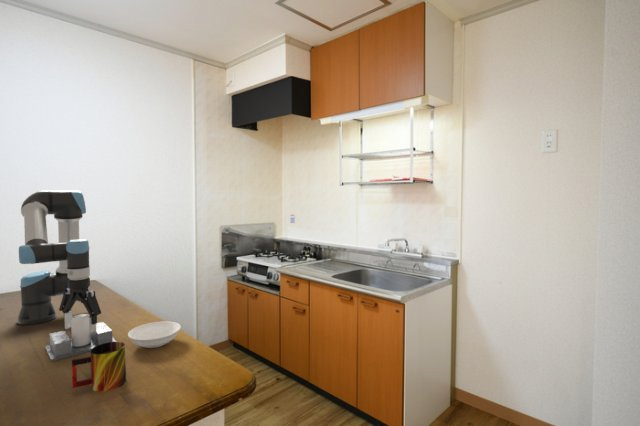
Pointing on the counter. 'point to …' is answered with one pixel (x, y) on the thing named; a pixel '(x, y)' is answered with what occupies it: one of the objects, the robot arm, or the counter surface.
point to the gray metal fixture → (64, 348)
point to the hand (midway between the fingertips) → (80, 329)
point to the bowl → (154, 334)
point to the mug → (103, 367)
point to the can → (80, 330)
